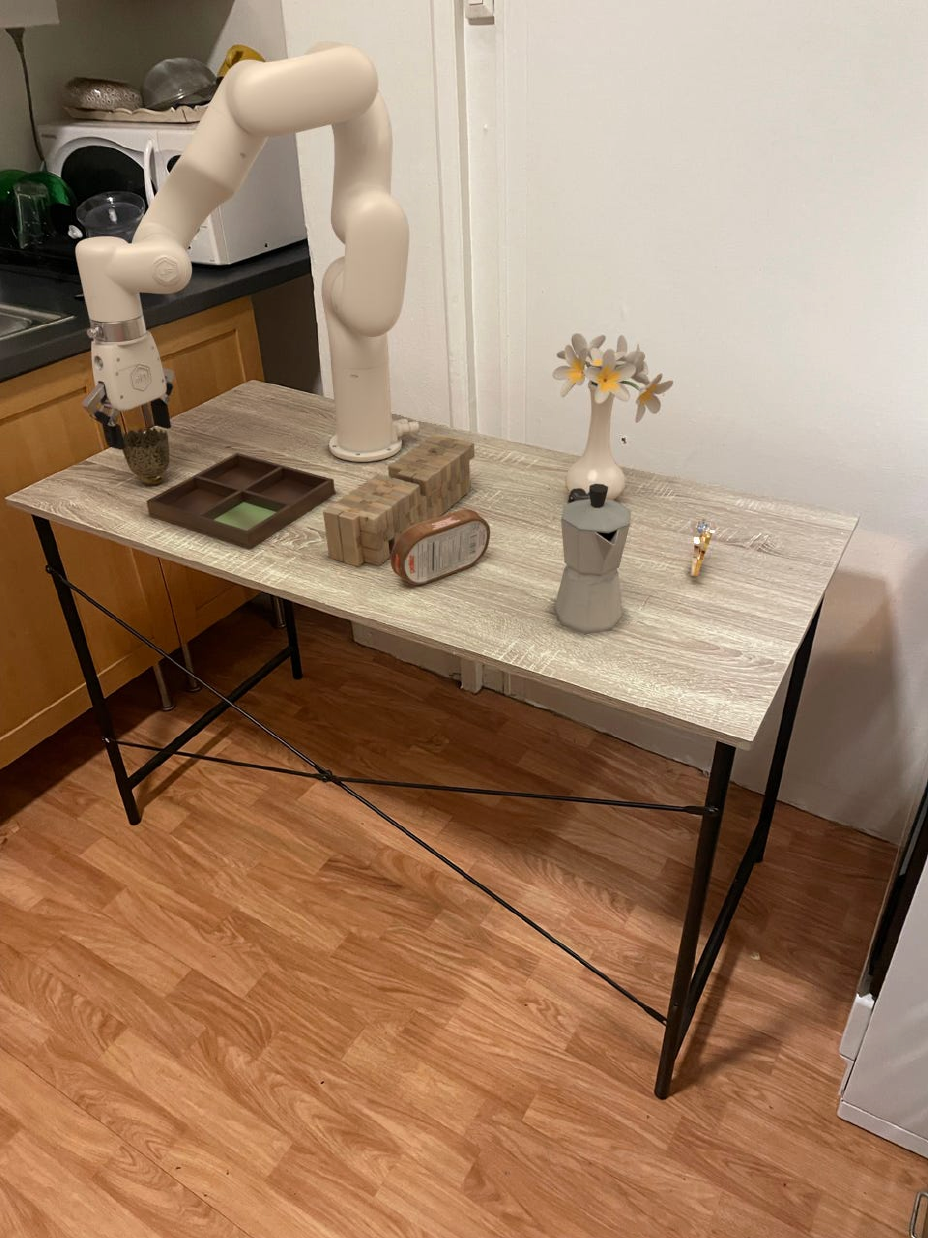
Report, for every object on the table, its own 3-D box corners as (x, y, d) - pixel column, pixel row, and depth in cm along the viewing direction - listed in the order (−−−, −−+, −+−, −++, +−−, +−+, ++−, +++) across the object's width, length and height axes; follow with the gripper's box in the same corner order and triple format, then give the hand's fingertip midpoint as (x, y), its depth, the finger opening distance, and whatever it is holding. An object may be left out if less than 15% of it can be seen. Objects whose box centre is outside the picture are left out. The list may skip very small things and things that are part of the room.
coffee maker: (638, 637, 113) (654, 507, 103) (569, 646, 112) (579, 516, 102) (598, 575, 125) (609, 453, 115) (536, 582, 124) (542, 460, 114)
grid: (239, 466, 154) (236, 452, 153) (335, 494, 146) (333, 479, 144) (149, 516, 140) (145, 500, 138) (250, 549, 132) (247, 533, 130)
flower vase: (629, 535, 134) (648, 368, 120) (526, 499, 144) (532, 340, 130) (671, 502, 143) (693, 343, 129) (571, 470, 152) (581, 318, 138)
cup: (169, 492, 146) (159, 446, 142) (123, 492, 146) (112, 445, 142) (182, 472, 152) (173, 426, 148) (138, 471, 153) (127, 426, 148)
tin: (480, 552, 131) (480, 499, 126) (493, 561, 129) (494, 508, 124) (390, 586, 123) (387, 531, 119) (403, 596, 121) (400, 541, 117)
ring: (702, 589, 122) (712, 536, 118) (678, 584, 123) (687, 532, 119) (711, 563, 128) (720, 512, 123) (688, 559, 129) (696, 508, 124)
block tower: (373, 577, 127) (477, 487, 147) (368, 524, 122) (476, 439, 142) (327, 562, 130) (435, 476, 150) (320, 510, 125) (433, 429, 145)
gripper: (89, 348, 127) (114, 461, 137) (180, 317, 140) (196, 423, 149) (52, 338, 131) (79, 450, 140) (144, 309, 143) (163, 414, 153)
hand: (140, 436), depth 145 cm, fingers open, 9 cm apart
